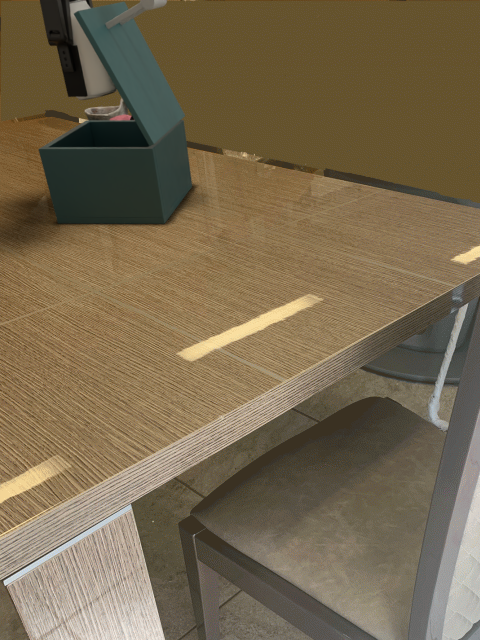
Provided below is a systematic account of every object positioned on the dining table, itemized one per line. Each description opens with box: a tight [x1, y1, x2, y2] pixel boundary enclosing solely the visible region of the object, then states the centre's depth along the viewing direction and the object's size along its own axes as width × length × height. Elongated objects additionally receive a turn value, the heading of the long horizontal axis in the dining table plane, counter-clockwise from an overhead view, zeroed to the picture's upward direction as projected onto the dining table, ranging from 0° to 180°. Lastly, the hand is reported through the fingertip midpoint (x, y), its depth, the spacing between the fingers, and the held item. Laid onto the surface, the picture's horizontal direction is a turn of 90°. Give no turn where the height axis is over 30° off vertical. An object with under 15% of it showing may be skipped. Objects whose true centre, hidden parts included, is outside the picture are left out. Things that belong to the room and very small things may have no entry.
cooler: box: [38, 119, 193, 225], centre depth 104 cm, size 17×20×11 cm
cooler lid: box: [74, 0, 186, 146], centre depth 95 cm, size 18×20×9 cm
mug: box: [84, 96, 129, 120], centre depth 140 cm, size 10×12×10 cm
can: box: [69, 0, 118, 101], centre depth 95 cm, size 6×6×12 cm
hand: (86, 91), depth 98 cm, fingers closed on can, 6 cm apart
